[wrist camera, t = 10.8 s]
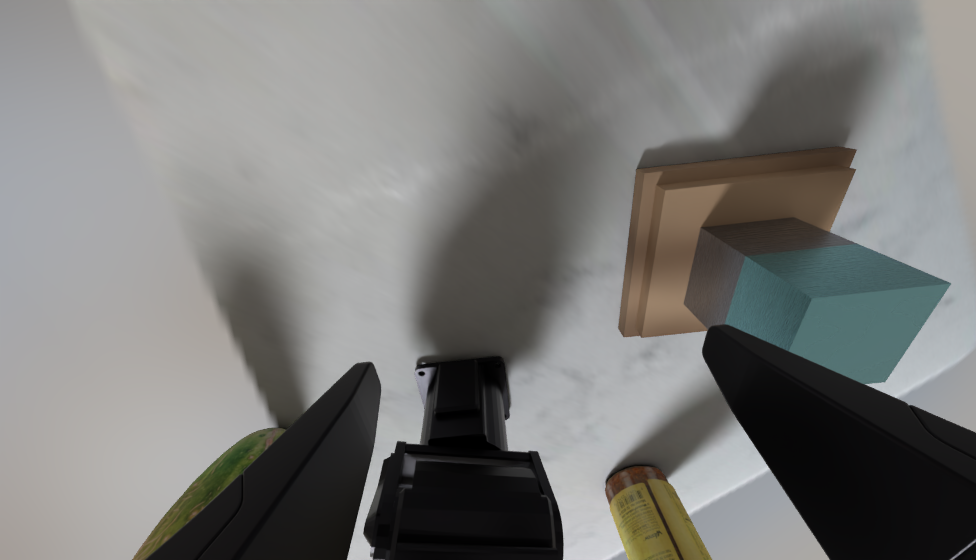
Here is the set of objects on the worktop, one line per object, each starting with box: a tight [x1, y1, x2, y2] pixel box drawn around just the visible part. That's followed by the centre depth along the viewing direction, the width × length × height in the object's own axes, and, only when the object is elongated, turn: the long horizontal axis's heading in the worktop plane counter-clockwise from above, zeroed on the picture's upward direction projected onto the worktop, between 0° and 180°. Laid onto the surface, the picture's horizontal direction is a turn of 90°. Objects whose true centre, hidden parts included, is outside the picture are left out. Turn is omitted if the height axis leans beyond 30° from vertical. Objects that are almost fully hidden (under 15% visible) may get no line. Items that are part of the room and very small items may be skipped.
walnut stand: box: [618, 147, 857, 338], centre depth 21 cm, size 11×11×2 cm
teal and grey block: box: [684, 217, 951, 384], centre depth 17 cm, size 5×5×7 cm
